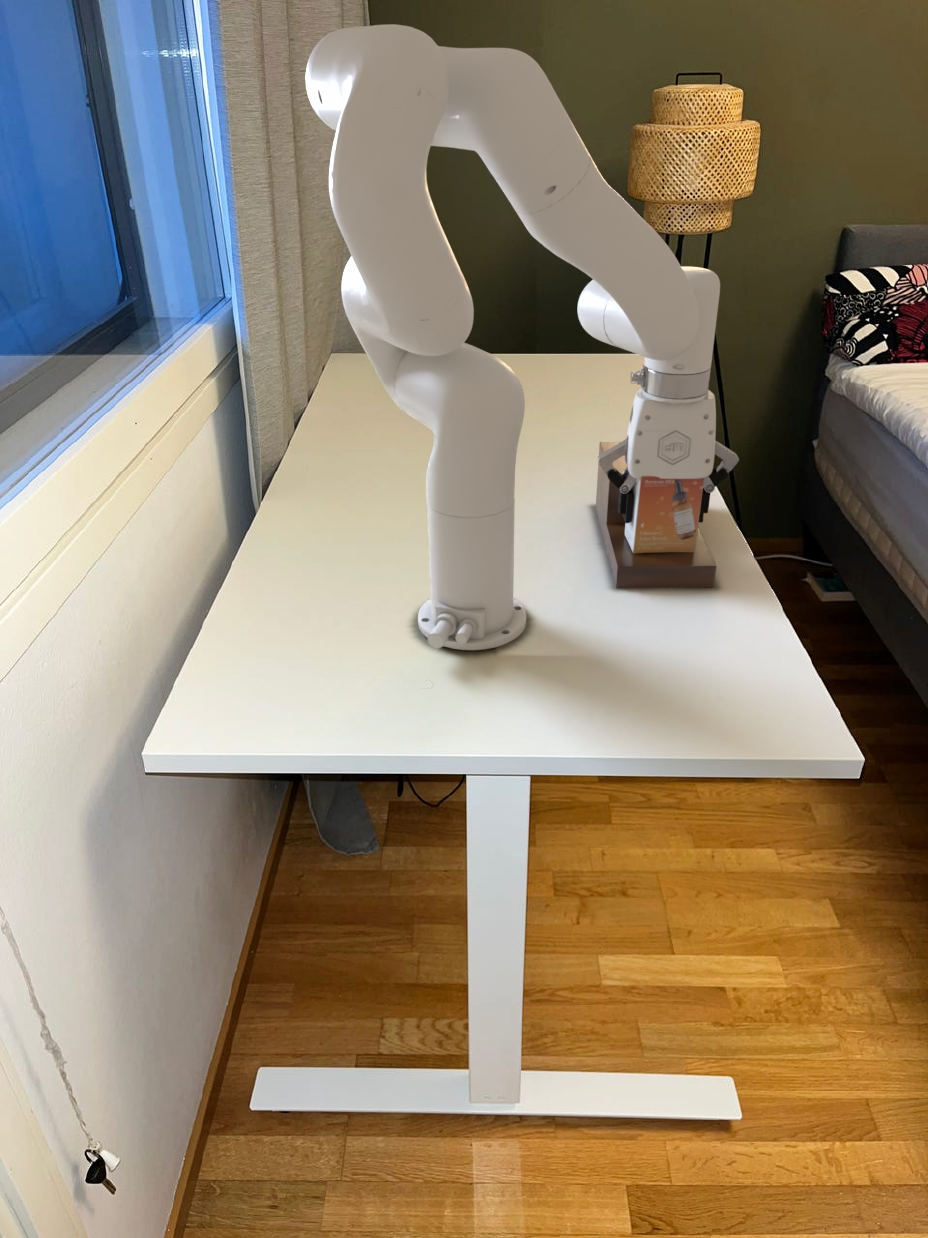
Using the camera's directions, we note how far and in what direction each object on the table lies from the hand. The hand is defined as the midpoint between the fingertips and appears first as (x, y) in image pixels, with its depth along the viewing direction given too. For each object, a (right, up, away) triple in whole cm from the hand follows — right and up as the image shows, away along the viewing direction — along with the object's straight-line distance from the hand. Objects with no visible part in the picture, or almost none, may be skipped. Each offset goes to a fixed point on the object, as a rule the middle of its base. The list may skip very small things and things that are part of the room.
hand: (662, 517), depth 119 cm
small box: (0, -3, +2) cm, 4 cm away
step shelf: (0, -3, +9) cm, 9 cm away
